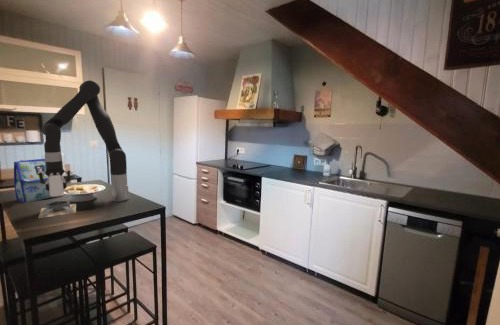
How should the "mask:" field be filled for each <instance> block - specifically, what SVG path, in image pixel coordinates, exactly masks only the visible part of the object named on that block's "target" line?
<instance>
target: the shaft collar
mask: <svg viewBox="0 0 500 325" xmlns="http://www.w3.org/2000/svg"><path fill="white" fill-rule="evenodd" d="M70 204H71V203H70V200H57V201H53V202H49V203H47V204H46V205H45V206H46V207H45V208H47V210H46V211H44V212H42V213H43V216H49V215H51V214H52V213H54V212H57V211H63V212H65V213H70V212H72V208H70ZM70 214H71V213H70Z"/></svg>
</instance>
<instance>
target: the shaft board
mask: <svg viewBox="0 0 500 325" xmlns="http://www.w3.org/2000/svg"><path fill="white" fill-rule="evenodd" d="M70 208H72V212H70V213H65V212H63V211H57V212H54V213H52V214H51V215H49V216H43V213H42V212H44V211H46V210H47V207H42V208H41V210H40V212H39V215H38V218H37V219H43V218H48V217H49V218H50V217H55V216H62V215H69V214H75V213H77V203H72V204H71V203H70Z"/></svg>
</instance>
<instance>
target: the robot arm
mask: <svg viewBox="0 0 500 325" xmlns="http://www.w3.org/2000/svg"><path fill="white" fill-rule="evenodd" d="M78 90H79V91H78V92H77V93H76V95H74V96H73V98H71V99H70V100H69V101H68V102H66V103H65V105H63V106H62V107H61V108H60V109H59V110H57V112H56V113H55V114H54V115H53V116H52V117H50V119H48V120H46V122H45V123H43V125H42V126H41V128H40V130H41V131H40V132H41V134H43V135H44V136H45V137H44V138H45V141H44V145H43V146H44V148H43V149H44V159H45V165H46V172H40V173H39V177H40V181H41V184H45V185H46V190H48V191H49V177H50V176H49V175H60V174H61V175H60V176H61V178H62V181H63V187H64V190H66V189H67V183H68V182H70V181H71V171H70V169H69V170H65V169H64V165H63V163H64V162H63V155H62V149H61V148H62V147H61V140H62V139H61V138H62V131H61V129H62V128H63V126H65V125H67V124H69V123H70V121H71V120H73V118H74V117H75V116H76V115H77V114H78V113H79V112H80V110H81V109H82V108H83V107H84V106H85V105H86V106H87V107H88V110H89V114H90V115H91V118H92V121H93V123H94V126H95V128H96V130H97V132H98V135H100V137H101V139H102V140H103V143H104V144H105V146H106V149H107V152H108V158H109V170H110V171H109V172H110V183H111V184H110V185H111V187H110V188H111V196H112V198H111V200H112V201H113V202H124V201H127V200H130V199H129V198H130V196H129V195H130V194H129V185H128V174H127V173H128V172H127V169H128V168H127V156H126V153H125V151H124V150H123V149H122V146H121V145H120V143H119V140H118V138H117V134H116V129H115V126H114V124H113V122H112V119H111V117H110V115H109V114H108V112H107V111H106V109H105V108H104V107H103V105H102V104H101V101H100V99H99V96H98V95H99V94H100V92H101V86H100V84H99V83H97V81H95V80H86V81H83V82H82V83H80V85H79V88H78ZM44 174H46V175H47V176H48V179H47V181H44V179H43V176H44ZM64 174H65V175H67V177H66V178H65V177H64ZM62 176H63V177H62Z"/></svg>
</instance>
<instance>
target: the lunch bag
mask: <svg viewBox="0 0 500 325" xmlns="http://www.w3.org/2000/svg"><path fill="white" fill-rule="evenodd" d="M40 172H46V165H45V158H40V159H39V158H38V159H37V158H36V159H25V160H23V159H21V160H18V161H14V162H13V181H14V182H13V185H14V192H15V199H16V200H17V201H18V202H21V203H23V204H25V203H32V202H36V201H42V200H45V199H51V198H52V199H53V197H51V196H50V192H49V191H48V190H46V185H45V184H41V181H40V177H39V173H40ZM43 179H44V181H47V179H48V176H47V175H46V174H44V176H43Z"/></svg>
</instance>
